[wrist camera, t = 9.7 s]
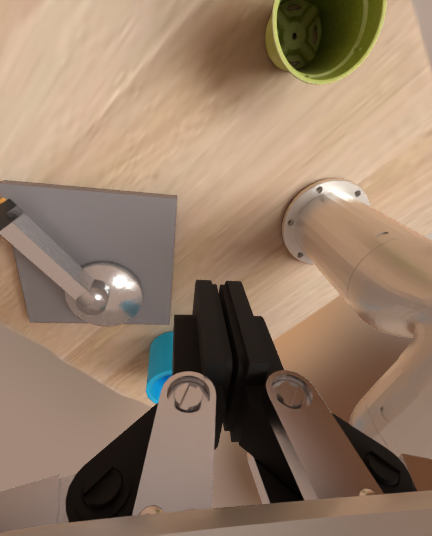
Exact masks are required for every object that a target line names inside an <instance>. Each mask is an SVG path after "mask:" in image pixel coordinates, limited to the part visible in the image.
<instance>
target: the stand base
mask: <svg viewBox="0 0 432 536" xmlns="http://www.w3.org/2000/svg"><path fill="white" fill-rule="evenodd" d="M0 194H1V199H0V204H1V203H3V202H4V201H6V200H8V199H9V198H10V199H11V200H12V201H13V202H14V203H15V204H16V205H17V206H18V207H19V208H20V209H21V210H22V211H23V212H25V214H26V215H27V216H28V217H29V218H30V219H31V220H32V221H33V222H34V223H35V224H36V225H38V226H39V227H40V228H41V229H42V230H43V231H44V232H45V233H46V234H47V235H48V236H49V237H50V238H51V239H52V240H53V241H54V242H55V243H56V244H57V245H59V246H60V247H61V248H62V249H63V250H64V251H65V252H66V253H67V254H68V255H69V256H70V257H71V258H72V259H73V260H74V261H75V262H76V263H77V264H79V265H80V266H83V265H85V264H87V263H90V262H94V261H110V262H115V263H118V264H120V265H123V266H125V267H126V268H128V269H129V270H131V271H132V272H133V273H134V274H135V275H136V276H137V277H138V279H139V281H140V283H141V285H142V289H143V297H142V303H141V307H140V309H139V311H138V313H137V314H136V315H135V316H134V317H133V318H132V319H131V320H129V321H127V322H125V323H123V324H157V325H169V323H170V307H171V291H172V274H173V258H174V242H175V226H176V209H177V196H176V195H165V194H153V193H142V192H131V191H120V190H108V189H97V188H86V187H75V186H63V185H52V184H41V183H30V182H18V181H7V180H4V181H2V182H0ZM12 247H13V251H14V255H15V260H16V264H17V268H18V273H19V277H20V282H21V286H22V290H23V295H24V299H25V303H26V308H27V312H28V317H29V321H30V322H39V323H88V322H86V321H84V320H82V319H80V318H79V317H78V316H76V315H75V314H74V313H73V312H72V310H71V309H70V308H69V306H68V304H67V302H66V298H65V290H64V289H62V288H61V287H60V286H59V285H58V284H57V283H56V282H54V281H53V280H52V279H51V278H50V277H49V276H48V275H46V274H45V273H44V272H43V271H42V270H41V269H39V268H38V267H37V266H36V265H35V264H34V263H33V262H31V261H30V260H29V259H28V258H27V257H26V256H25V255H23V254H22V253H21V252H20V251H19V250H18V249H16V248H15V247H14V246H13V245H12Z"/></svg>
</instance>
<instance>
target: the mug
mask: <svg viewBox="0 0 432 536" xmlns="http://www.w3.org/2000/svg"><path fill="white" fill-rule="evenodd" d="M172 359H173V331H172V332H167V333H164V334H162V335H159V336H158V337H157V338H156V339H154V340H153V342H152V344H151V346H150V355H149V366H148V376H147V386H146V393H147V396H148V398H149V399H150V400H151V401H152V402H154V403H156V404H157V403H158V402H159V398H160V394H161V390H162V387H163V385H164V383H165V382H166V381H167V380H168V379H169V378H170V377H171V376H172Z"/></svg>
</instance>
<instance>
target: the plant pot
mask: <svg viewBox="0 0 432 536" xmlns="http://www.w3.org/2000/svg"><path fill="white" fill-rule="evenodd" d="M290 5H299V6H300V7H301V9H300V10H290V11H288V10H287V9H288V7H289V6H290ZM386 5H387V0H274V2H273V8H272V14H271V16H270V19H269V21H268V24H267V27H266V33H265V45H266V50H267V53H268V56H269V58H270V59H271V60H272V62H273V63H274V64H275V65H276V66H277V67H278V68H280V69H282V70H284V71H289V72H290V73H291V74H292V75H293V76H295V77H296V78H297V79H299V80H301V81H303V82H305V83H309V84H315V85H324V84H330V83H334V82H336V81H339V80H341V79H343V78H344V77H346V76H348V75H349V74H351V73H352V72H353V71H354V70H356V69H357V68H358V67H359V66H360V65H361V64H362V62H363V61H364V60H365V59H366V58H367V56H368V55H369V53H370V52H371V50H372V48H373V47H374V45H375V43H376V41H377V39H378V36H379V34H380V32H381V29H382V25H383V22H384V18H385V11H386ZM314 26H316V27H317V38H316V41H315V42H313V36H314ZM293 33H296V35H297V37H296V39H293V38H292V35H293ZM296 61H299V63H298V64H297V65H294V66H291V65H290V64H289V63H288V62H296Z"/></svg>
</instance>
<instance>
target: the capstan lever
mask: <svg viewBox="0 0 432 536" xmlns="http://www.w3.org/2000/svg"><path fill="white" fill-rule="evenodd" d="M0 235H2V236H3V237H4V238H5V239H6V240H7V241H8V242H10V243H11V244H12V245H13V246H14V247H15V248H16V249H18V250H19V251H20V252H21V253H22V254H23V255H25V256H26V257H27V258H28V259H29V260H30V261H31V262H33V263H34V264H35V265H36V266H37V267H38V268H39V269H41V270H42V271H43V272H44V273H45V274H46V275H48V276H49V277H50V278H51V279H52V280H53V281H54V282H56V283H57V284H58V285H59V286H60V287H61V288H62V289H64V290H65V298H66V302H67V304H68V306H69V308H70V309H71V310H72V312H73V313H74V314H75V315H76V316H78V317H79V318H80V319H82V320H84V321H86V322H88V323H90V324H93V325H98V326H116V325H120V324H123V323H125V322H127V321H129V320H131V319H132V318H133V317H134V316H135V315H136V314H137V313H138V311H139V309H140V307H141V303H142V297H143V289H142V285H141V283H140V281H139V279H138V277H137V276H136V275H135V274H134V273H133V272H132V271H131V270H129V269H128V268H126V267H125V266H123V265H120V264H118V263H115V262H110V261H94V262H90V263H87V264H85V265H83V266H80V265H79V264H77V263H76V262H75V261H74V260H73V259H72V258H71V257H70V256H69V255H68V254H67V253H66V252H65V251H64V250H63V249H62V248H61V247H60V246H59V245H57V244H56V243H55V242H54V241H53V240H52V239H51V238H50V237H49V236H48V235H47V234H46V233H45V232H44V231H43V230H42V229H41V228H40V227H39V226H38V225H36V224H35V223H34V222H33V221H32V220H31V219H30V218H29V217H28V216H27V215H26V214H25V212H23V211H22V210H21V209H20V208H19V207H18V206H17V205H16V204H15V203H14V202H13V201H12V200H11V199H10V198H9V199H8V200H6V201H4V202H3V203H1V204H0Z"/></svg>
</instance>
